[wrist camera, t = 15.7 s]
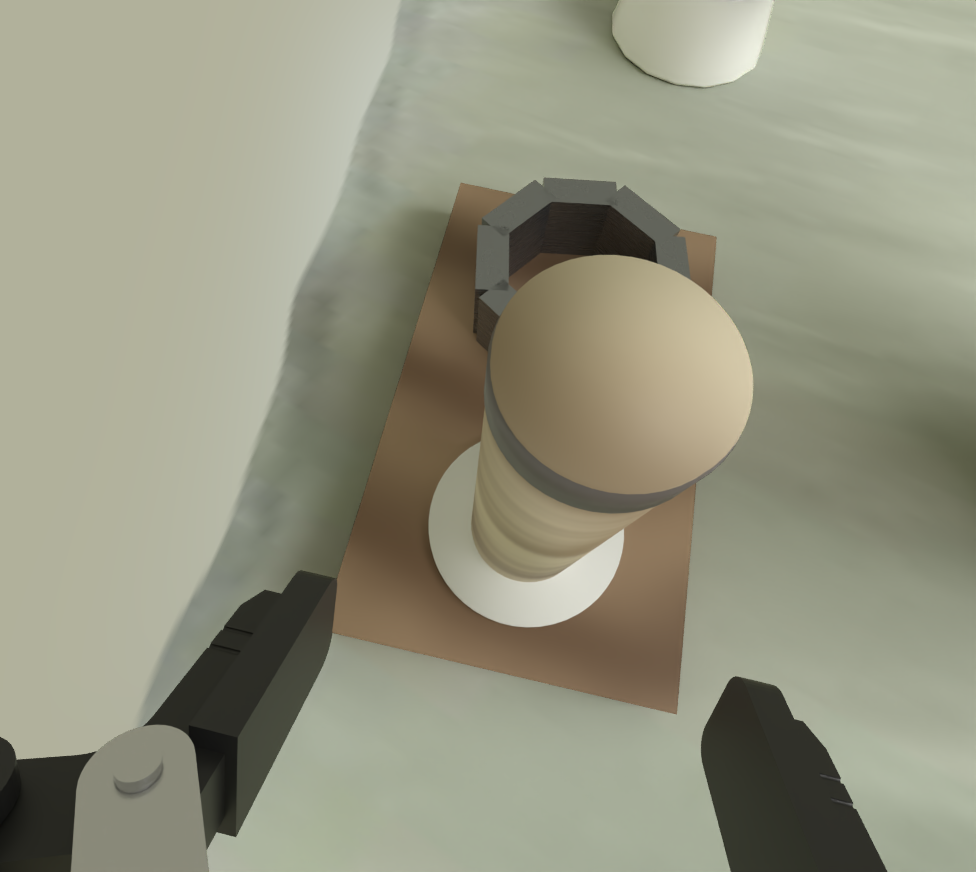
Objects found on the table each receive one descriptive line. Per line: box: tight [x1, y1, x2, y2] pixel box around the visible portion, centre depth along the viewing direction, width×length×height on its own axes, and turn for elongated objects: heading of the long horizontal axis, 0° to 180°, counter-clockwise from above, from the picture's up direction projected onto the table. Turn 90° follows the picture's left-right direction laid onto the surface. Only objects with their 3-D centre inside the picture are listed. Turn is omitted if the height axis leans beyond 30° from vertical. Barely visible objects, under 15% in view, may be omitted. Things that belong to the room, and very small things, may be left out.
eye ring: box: [473, 178, 691, 351], centre depth 22 cm, size 8×8×3 cm
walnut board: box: [332, 183, 717, 714], centre depth 22 cm, size 20×12×2 cm, turn 168°
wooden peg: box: [471, 255, 753, 582], centre depth 14 cm, size 4×4×12 cm
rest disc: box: [429, 442, 624, 627], centre depth 20 cm, size 7×7×1 cm
